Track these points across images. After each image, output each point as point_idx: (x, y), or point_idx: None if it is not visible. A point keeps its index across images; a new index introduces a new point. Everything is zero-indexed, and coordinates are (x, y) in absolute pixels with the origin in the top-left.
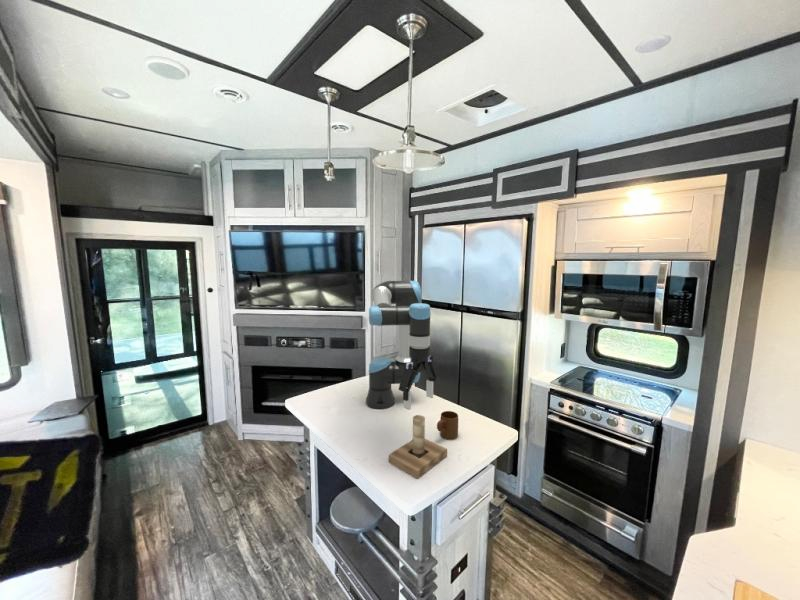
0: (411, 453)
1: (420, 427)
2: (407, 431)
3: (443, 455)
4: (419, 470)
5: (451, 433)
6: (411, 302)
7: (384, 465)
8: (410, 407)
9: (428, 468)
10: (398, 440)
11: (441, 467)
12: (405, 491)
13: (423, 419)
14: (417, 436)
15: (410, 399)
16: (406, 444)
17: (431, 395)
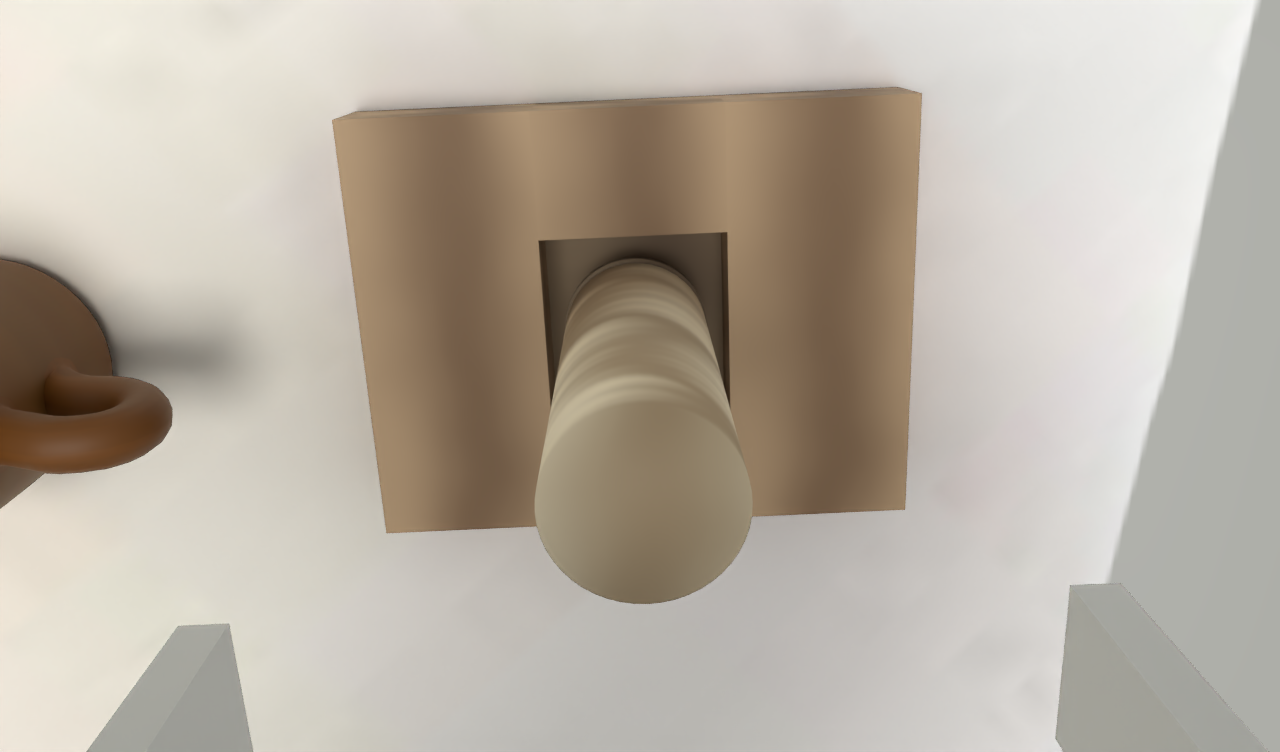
0: None
1: (694, 380)
2: (339, 711)
3: (424, 111)
4: (888, 94)
5: (20, 298)
6: None
7: (947, 467)
8: (1107, 608)
9: (716, 97)
10: (536, 660)
11: (566, 27)
12: (1123, 50)
13: (626, 417)
14: (715, 363)
15: (1221, 743)
16: None
17: (205, 678)
